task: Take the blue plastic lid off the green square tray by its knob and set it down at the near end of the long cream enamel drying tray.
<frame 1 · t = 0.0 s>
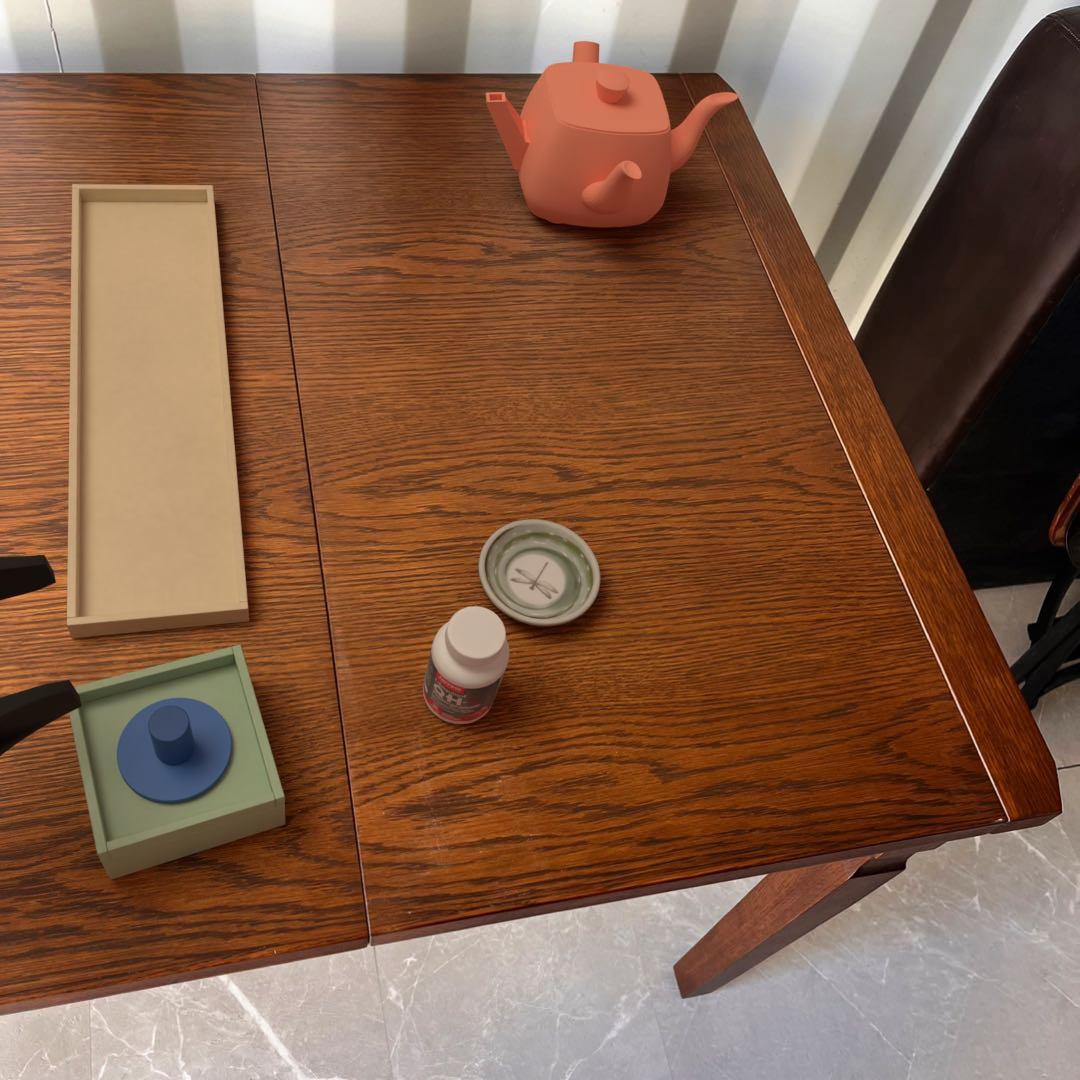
hand: (62, 629, 57), 19 cm above the table, tool horizontal, fingers open, 7 cm apart
teapot: (587, 198, 113), on the table
green square tray: (181, 773, 73), on the table
drying tray: (153, 388, 90), on the table
blue lid: (175, 751, 70), point 4 cm above the table, touching green square tray
pill bottle: (458, 693, 80), on the table
saucer: (534, 586, 87), on the table
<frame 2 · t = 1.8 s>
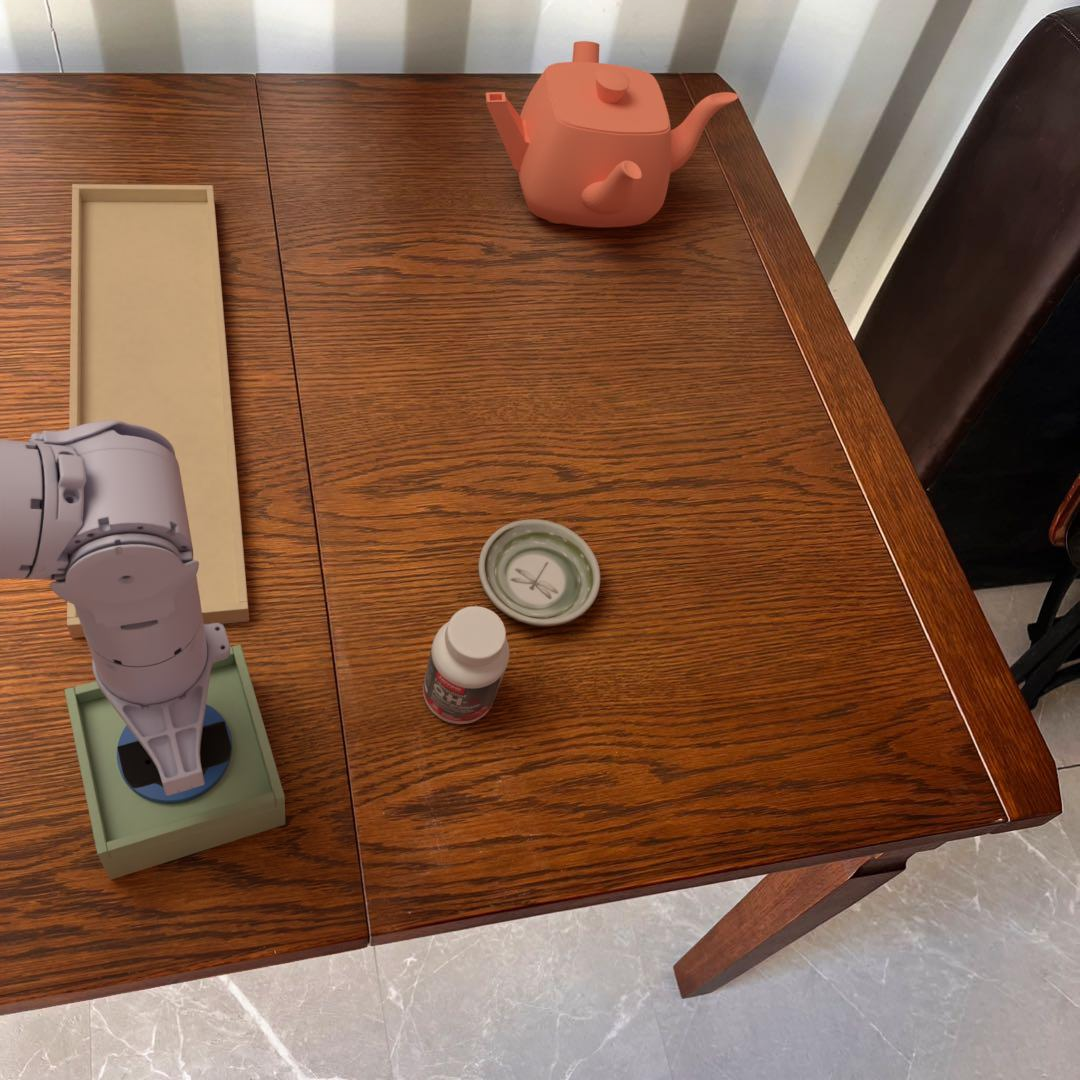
hand: (169, 722, 66), 9 cm above the table, tool pointing down, fingers open, 7 cm apart
nothing on the table moved.
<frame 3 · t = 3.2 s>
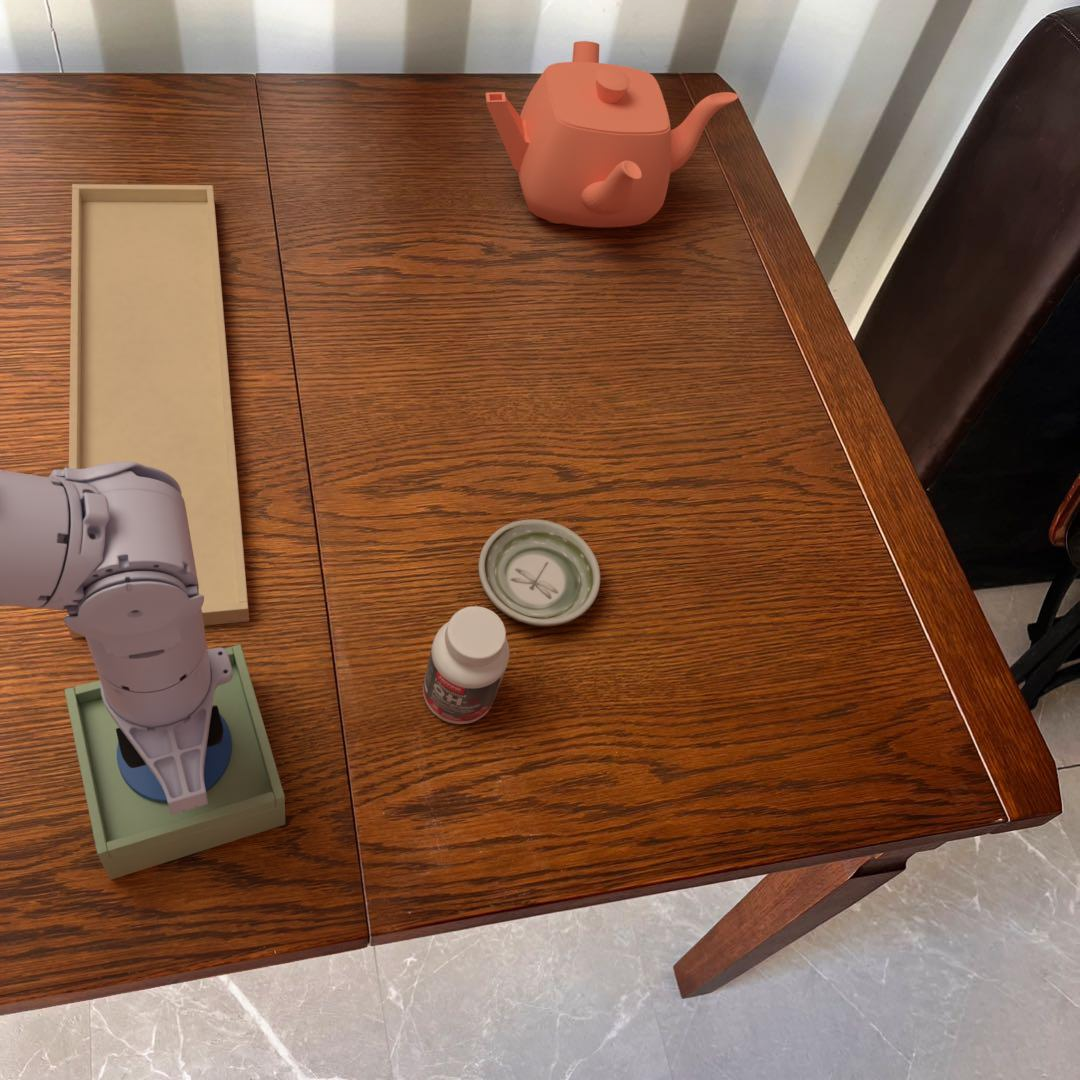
hand: (173, 741, 69), 6 cm above the table, tool pointing down, fingers closed on blue lid, 2 cm apart
blue lid: (175, 750, 70), point 4 cm above the table, touching green square tray, gripper
everything else where it was.
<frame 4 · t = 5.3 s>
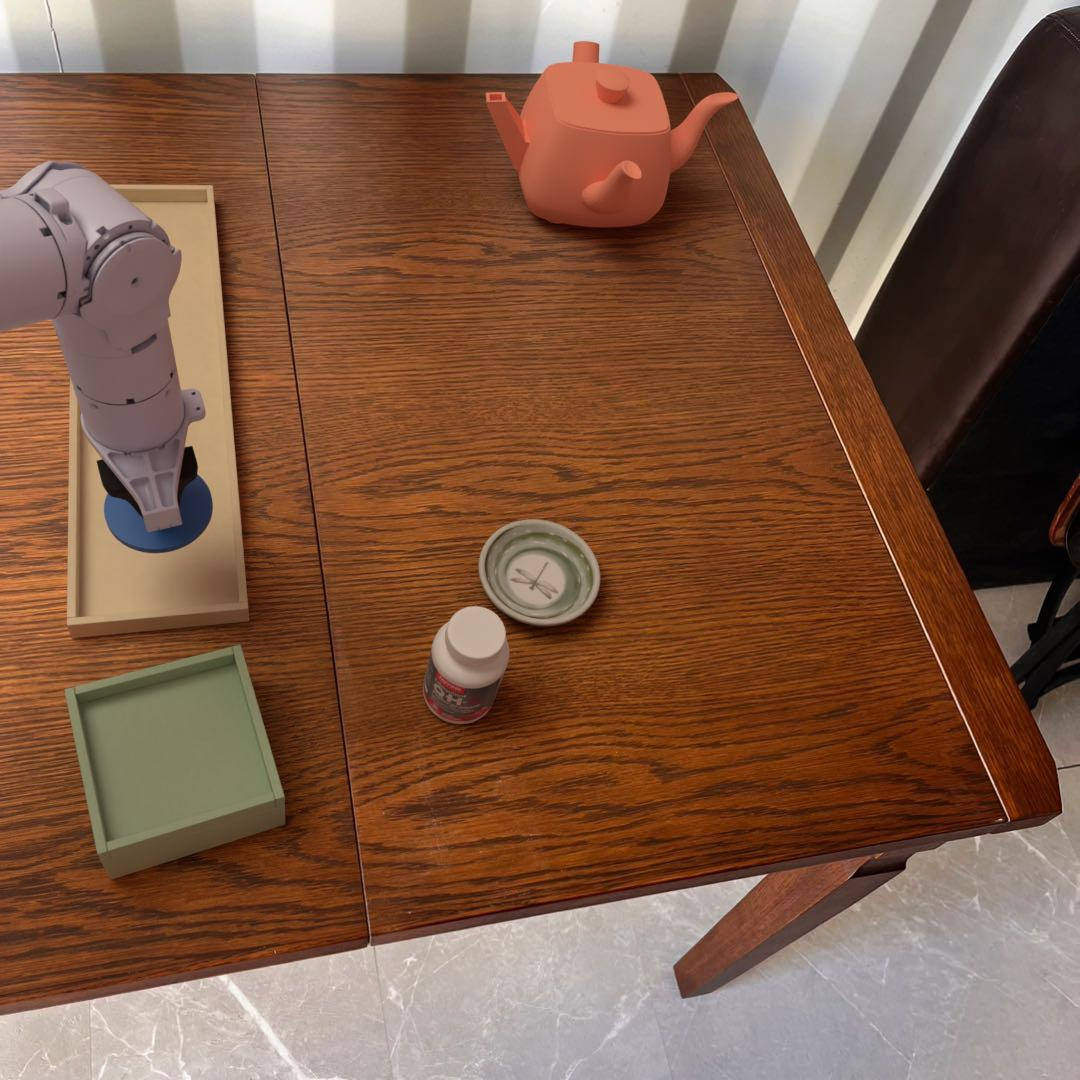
hand: (155, 496, 73), 10 cm above the table, tool pointing down, fingers closed on blue lid, 2 cm apart
blue lid: (159, 509, 74), point 8 cm above the table, touching gripper
everything else where it was.
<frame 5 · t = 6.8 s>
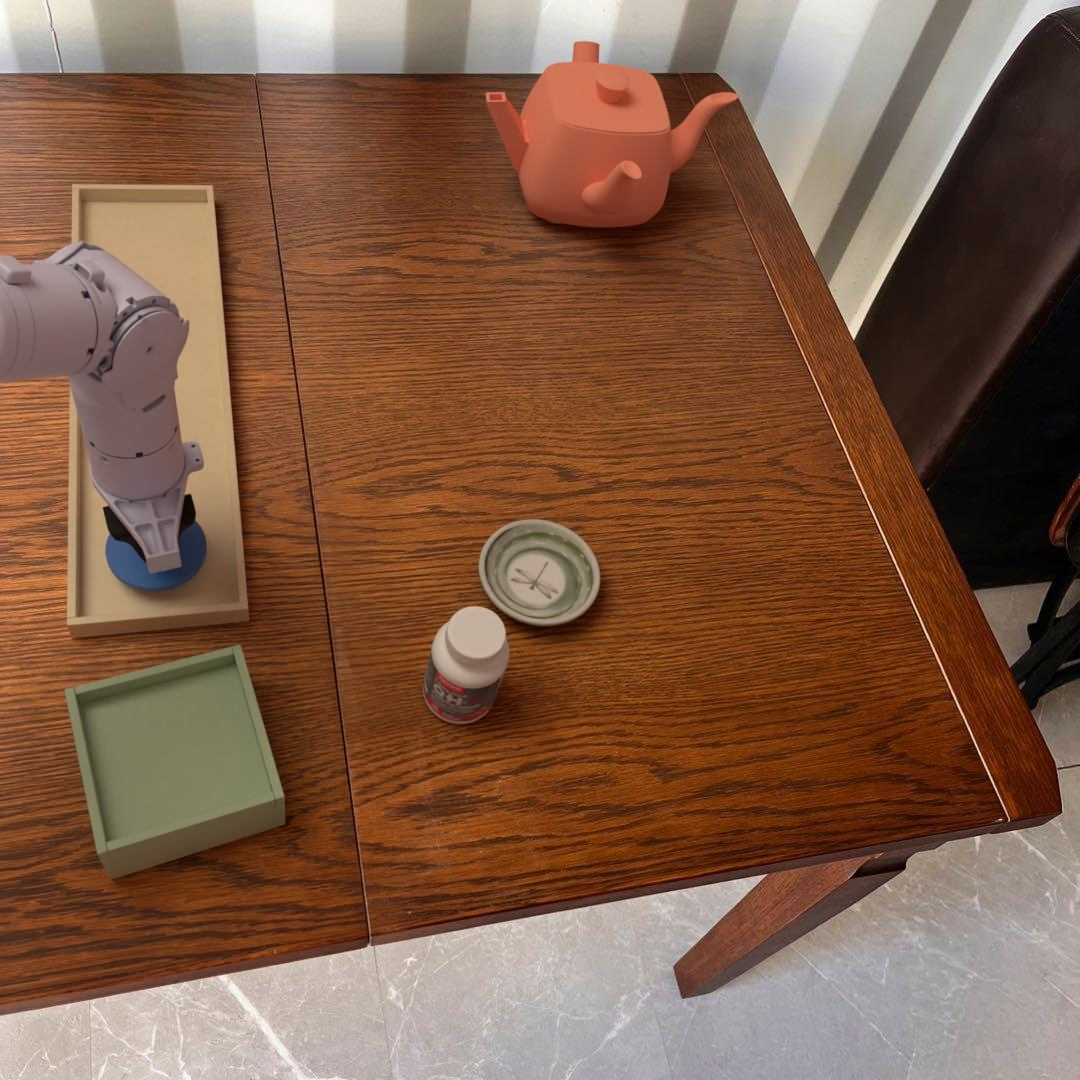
hand: (154, 539, 78), 4 cm above the table, tool pointing down, fingers closed on blue lid, 2 cm apart
blue lid: (157, 550, 80), point 2 cm above the table, touching gripper
everything else where it was.
when the fingers open (2 cm above the table, at t = 7.5 s): blue lid stays where it is, resting on drying tray.
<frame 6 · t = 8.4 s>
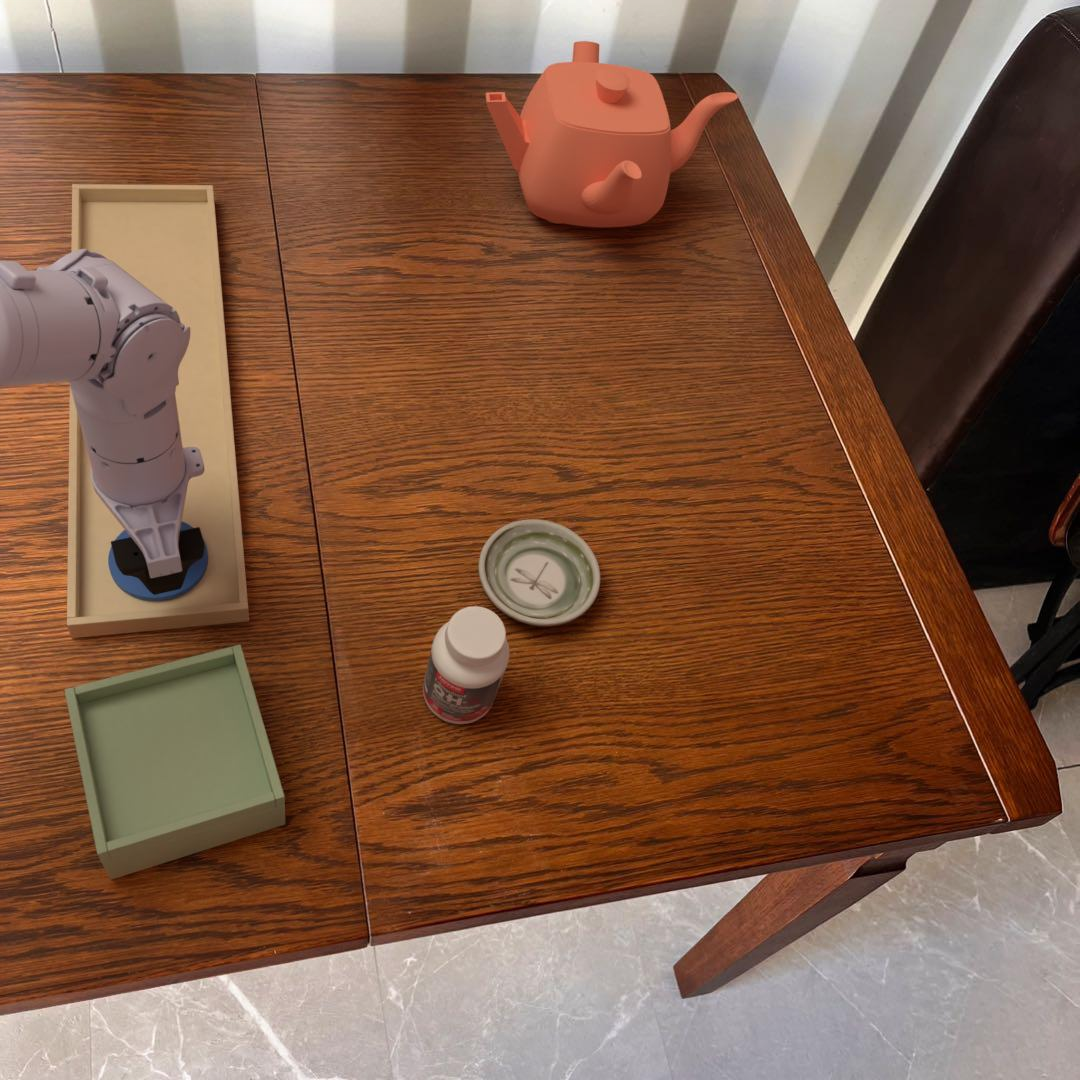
hand: (154, 543, 79), 3 cm above the table, tool pointing down, fingers open, 7 cm apart
blue lid: (159, 560, 81), resting on drying tray
everything else where it was.
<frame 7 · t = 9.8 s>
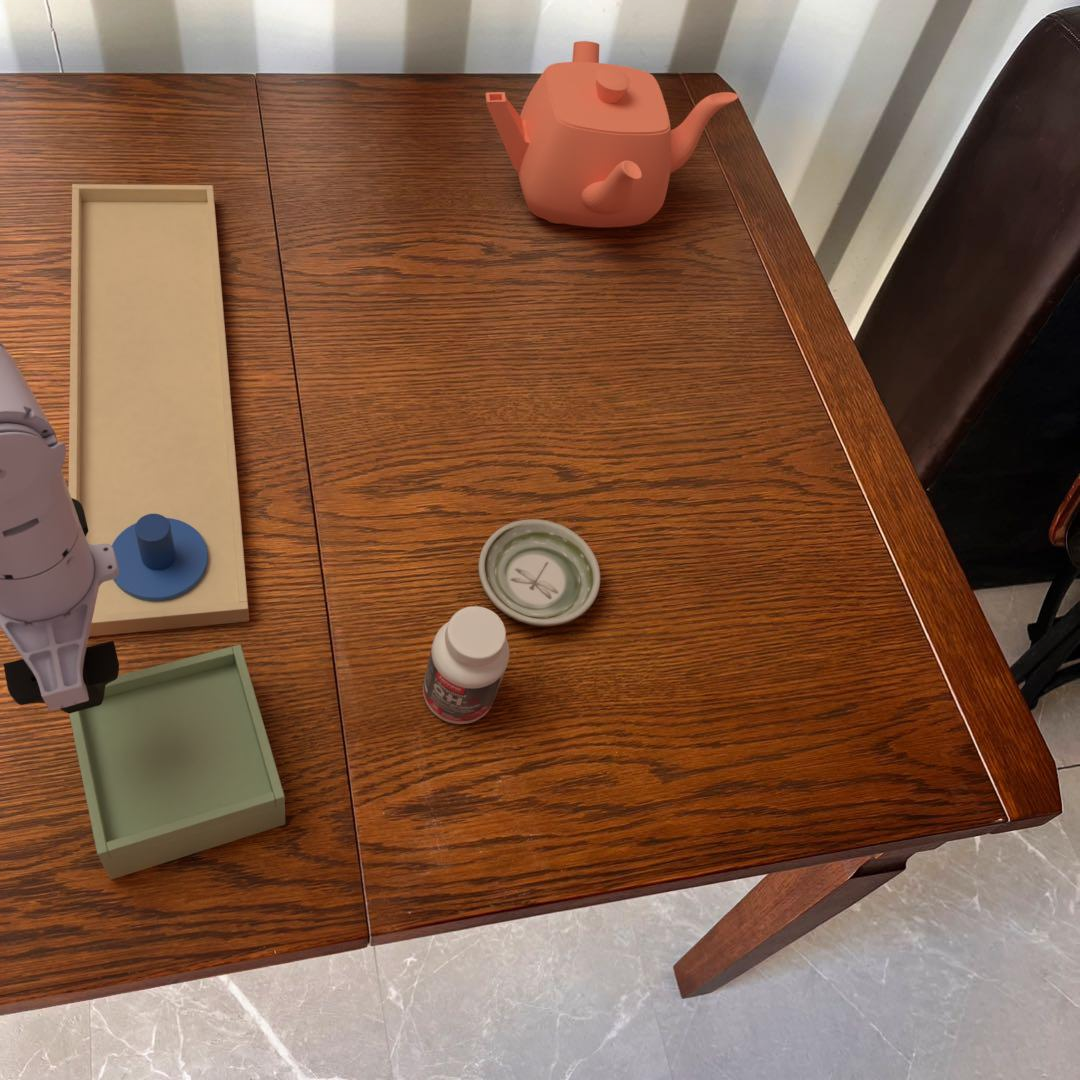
hand: (72, 648, 67), 9 cm above the table, tool pointing down, fingers open, 7 cm apart
nothing on the table moved.
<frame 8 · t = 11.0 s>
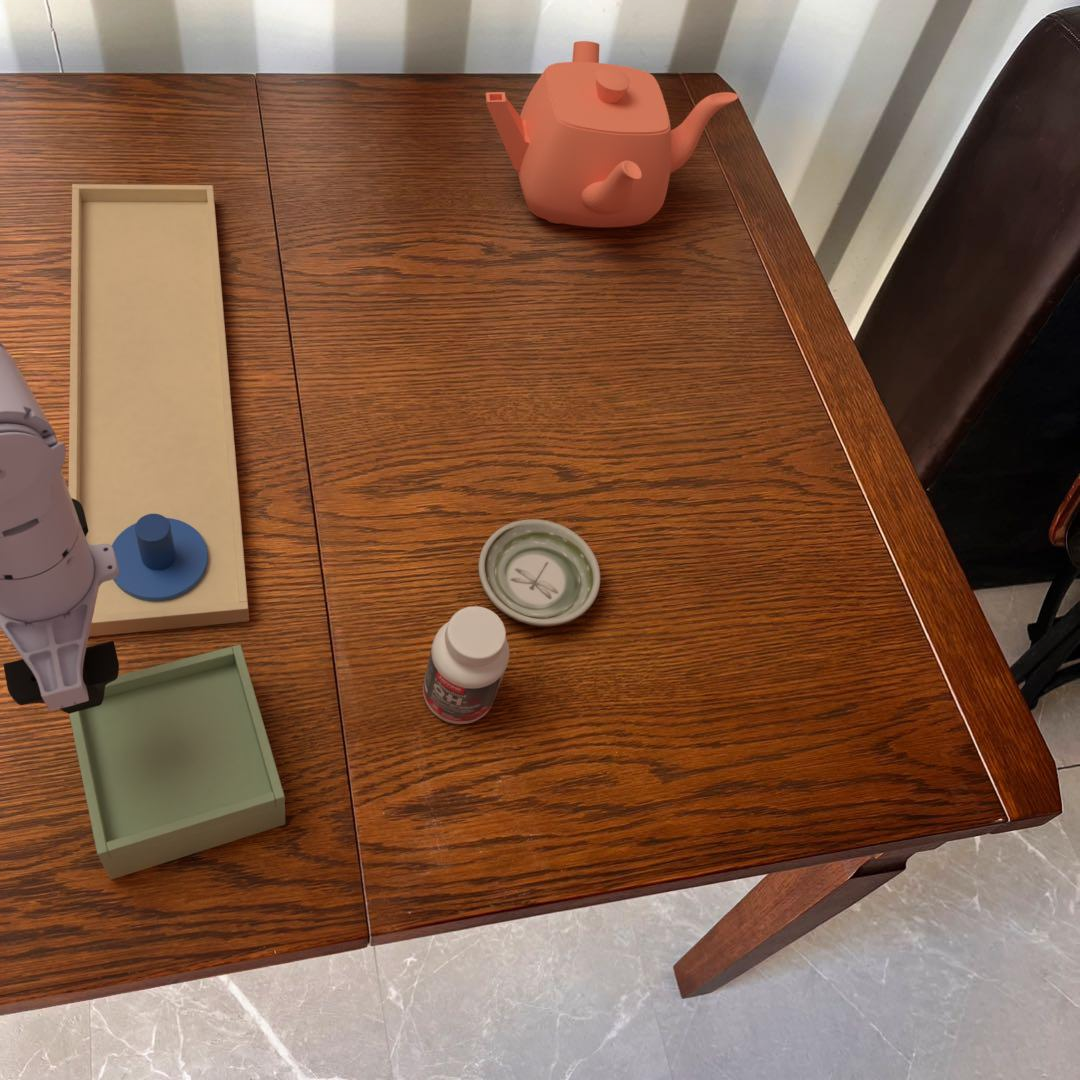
hand: (72, 648, 67), 9 cm above the table, tool pointing down, fingers open, 7 cm apart
nothing on the table moved.
at the end: blue lid inside the target area in the drying tray (0.1 cm from its centre), point 0.5 cm above the drying tray's base; blue lid tilted 0°; blue lid touching drying tray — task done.
